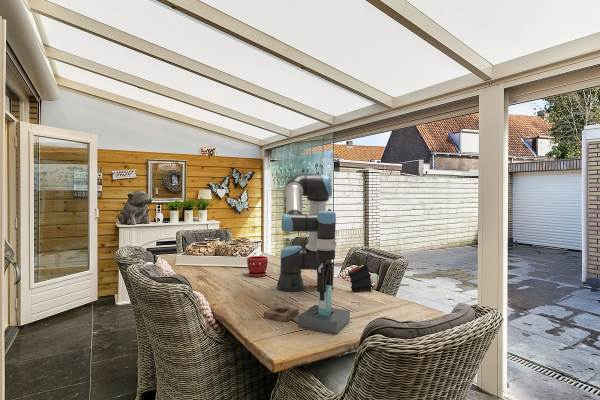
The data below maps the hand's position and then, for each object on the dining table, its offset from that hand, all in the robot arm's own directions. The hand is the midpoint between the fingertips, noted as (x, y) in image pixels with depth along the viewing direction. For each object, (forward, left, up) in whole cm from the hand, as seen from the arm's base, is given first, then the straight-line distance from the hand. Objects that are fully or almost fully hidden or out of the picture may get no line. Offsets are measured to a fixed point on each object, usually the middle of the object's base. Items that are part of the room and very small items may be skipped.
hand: (325, 306), depth 146 cm
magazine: (-2, +56, -7) cm, 57 cm away
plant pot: (-71, +60, -7) cm, 93 cm away
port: (0, 0, -7) cm, 7 cm away
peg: (0, 0, -4) cm, 4 cm away
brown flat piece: (-20, 0, -7) cm, 21 cm away
